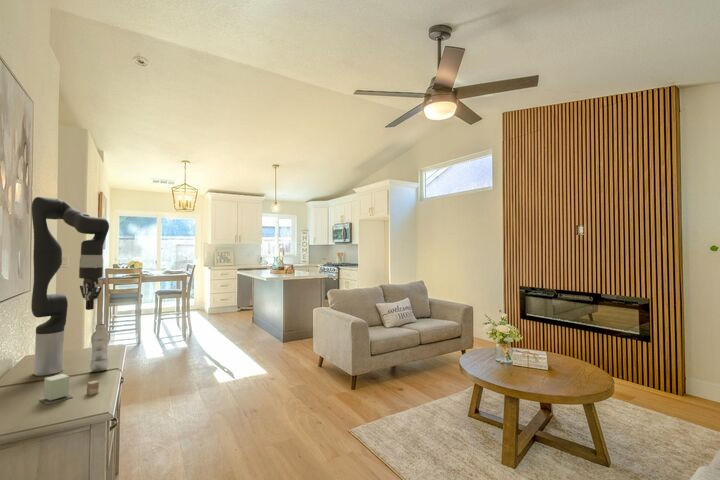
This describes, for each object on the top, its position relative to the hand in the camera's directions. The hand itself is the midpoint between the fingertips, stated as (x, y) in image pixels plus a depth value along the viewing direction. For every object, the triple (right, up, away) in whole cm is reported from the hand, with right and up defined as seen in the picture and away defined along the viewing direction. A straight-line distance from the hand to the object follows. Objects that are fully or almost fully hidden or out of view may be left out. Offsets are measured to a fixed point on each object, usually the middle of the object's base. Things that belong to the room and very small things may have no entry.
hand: (89, 309), depth 139 cm
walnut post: (+1, -28, -17) cm, 33 cm away
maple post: (+10, -29, -11) cm, 32 cm away
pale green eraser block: (+1, -27, -17) cm, 32 cm away
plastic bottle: (-5, -30, +12) cm, 32 cm away
